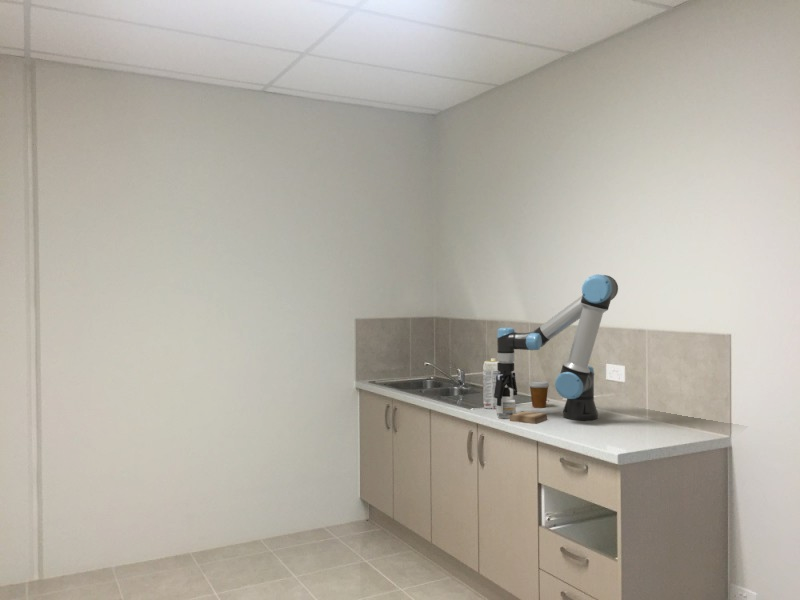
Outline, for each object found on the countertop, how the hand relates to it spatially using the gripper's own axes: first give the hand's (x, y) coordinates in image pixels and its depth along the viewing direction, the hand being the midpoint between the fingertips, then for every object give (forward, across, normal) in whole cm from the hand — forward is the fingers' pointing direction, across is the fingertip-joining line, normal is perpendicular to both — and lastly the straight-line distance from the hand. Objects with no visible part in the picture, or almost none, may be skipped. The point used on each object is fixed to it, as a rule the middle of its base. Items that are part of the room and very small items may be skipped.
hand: (505, 411), depth 315 cm
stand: (+2, +2, +12) cm, 12 cm away
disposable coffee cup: (+3, -32, +1) cm, 32 cm away
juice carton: (+3, -17, -16) cm, 23 cm away
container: (+3, 0, 0) cm, 3 cm away
